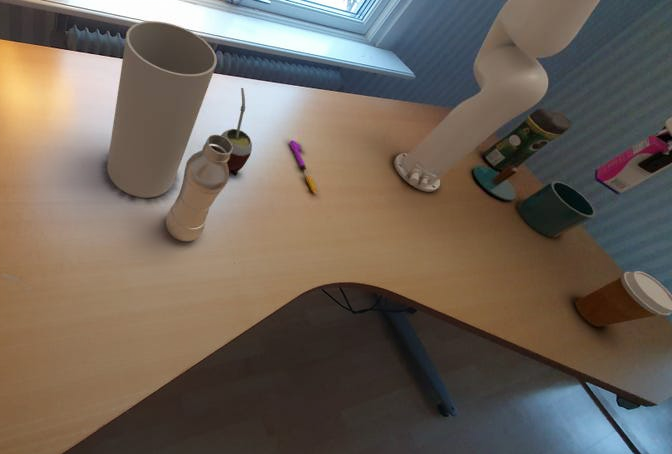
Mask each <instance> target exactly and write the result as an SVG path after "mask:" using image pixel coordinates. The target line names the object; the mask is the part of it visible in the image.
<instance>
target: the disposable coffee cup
mask: <svg viewBox="0 0 672 454" xmlns="http://www.w3.org/2000/svg"><path fill="white" fill-rule="evenodd" d="M575 307H576V309H577V311H578V313H579V315H580V316H581V317H582V318H583V319H584V320H585V321H587V323H589V324H590V325H592V326H593V327H594V326H595V327H599V328H601V327H605V326H610V325H614V324H621V323H624V322H625V323H626V322H630V321H635V320H641V319H645V318H650V317H657V316H670V315H671V314H672V293H670V291H669V290H668V289H667V288H666V287H665V286H664V285H663V284H662V283H661V282H659V281H658V280H657V279H656V278H654V277H653V276H651V275H649V274H648V273H646V272H644V271H641V270H636V271H626V272H624V273H623V274H622V275H621V276H620V277H619V278H617V279H615V280H614V281H610V282H609V283H607V284H606V285H604V286H602V287H599V288H598V289H596V290H594V291H592V292H591V293H589V294H587V295H585V296H583V297H581V298H579V299H577V300H575Z"/></svg>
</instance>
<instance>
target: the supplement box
mask: <svg viewBox="0 0 672 454" xmlns="http://www.w3.org/2000/svg"><path fill="white" fill-rule="evenodd" d="M671 145H672V144H669V143H666V142H664V141H663V140H661V139H659V138H657V137H656V136H654V134H651V135H649V136H648V137H645V138H644V139H642V140H641V141H639V142H638V143H636V144H634V145H633V146H632V147H630V148H629V149H626V150H625V151H623V152H622V153H620V154H618V155H617V156H615V157H614V158H612V159H611V160H609V161H607V162H605V163H604V164H602V165H601V166H599V167H598V168H596V169H595V171H594V181H596V182H598V183H599V184H600V185H602V186H604V187H605V188H606V189H608V190H610V191H611V192H613V193H614V194H616V195H617V196H619V195H620V194H622V193H625V192H626V191H628V190H630V189H632V188H633V187H635V186H637V185H639V184H641V183H642V182H644V181H646V180H648V179H649V178H651V177H653V176H655V175H657V174H659V173H660V172H662V171H664V170H665V169H667V168H670V167H671V166H672V163H670V164H669V165H667V166H665V167H663V168H661V169H659V170H658V171H656V172H654V173H649V172H647V171H646V170H644V169H642V168H641V167H639V166H638V163H640V162H642V161H643V160H645V159H647V158H648V157H650V156H652V155H654V154H655V153H657V152H659V151H661V152H663V151H664V150H666V149H667V148H668V147H669V146H671Z"/></svg>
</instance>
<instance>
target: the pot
mask: <svg viewBox="0 0 672 454" xmlns="http://www.w3.org/2000/svg"><path fill="white" fill-rule="evenodd" d="M517 210H518V212H519V214H520V216H521V217H522V218H523V220H524V221H525V222H526V223H527V224H528V225H529V226H530V227H531V228H532V229H534V231H536V232H538V233H540V234H541V235H544V236H546V237H549V238H556V237H559V236H562V235H564V234H565V233H567V232H569V231H571V230H573V229H575V228H576V227H579V226H580V225H582V224H584V223H586V222H588V221H590V220H591V219H594V218H595V217H596V216H597V212H596V209H595V208H594V206H593V205H592V203H591V202H590V201H589V200H588V198H586V197H585V195H583V193H581V192H580V191H578V190H577V189H575V188H574V187H572V186H571V185H569V184H567V183H565V182H562V181H560V180H553V181H551V182H549V183H548V184H546V185H545V186H543V187H542V188H540V189H538V190H537V191H536V192H534V193H532V194H531V195H528V197H527V198H524V199H523V200H521V201H520V202H518V204H517Z"/></svg>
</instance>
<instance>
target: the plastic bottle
mask: <svg viewBox="0 0 672 454" xmlns="http://www.w3.org/2000/svg"><path fill="white" fill-rule="evenodd" d="M232 149H233V146H232V144H231V142H230V141H229V140H228V139H226V138H225V137H223V136H221V134H211V135H209V136H208V137H207V138H206V141H205V143H204V144H203V145H202V149H201V150H199V151H197V152H195V153H193V154H192V155H191V156H190V157H189V158H188V160H187V161H186V164H185V167H184V172H183V178H182V183H181V187H180V190H179V193H178V195H177V197H176V199H175V201H174V202H173V204H172V206H171V207H170V208H169V210H168V211H167V214H166V221H165V225H166V228H167V231H168V233H169V234H170V235H171V236H172V237H173V238H174V239H176V240H178V241H181V242H191V241H194V240H196V239H197V238H198V237H199V236H200V235H201V234H202V233H203V231H204V228H205V225H206V220H207V217H208V213H209V211H210V208H211V207H212V205H213V203H214V202H215V200H216V199H217V197H218V196H219V194H220V193H221V192H222V191H223V190H224V189H225V187H226V185H227V184H228V182H229V175H230V172H229V169H228V165H227V161H228V160H229V158H230V154H231V152H232Z"/></svg>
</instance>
